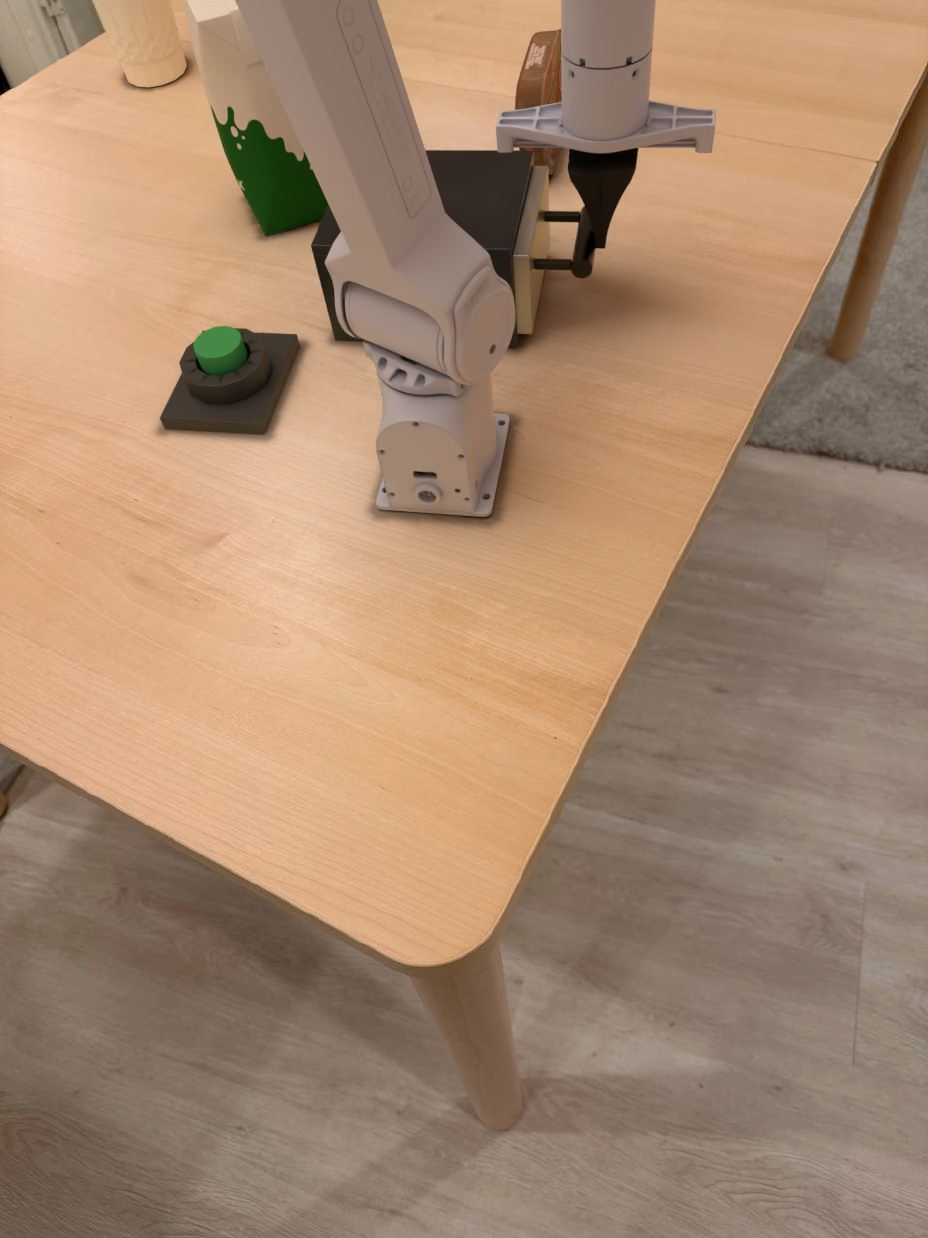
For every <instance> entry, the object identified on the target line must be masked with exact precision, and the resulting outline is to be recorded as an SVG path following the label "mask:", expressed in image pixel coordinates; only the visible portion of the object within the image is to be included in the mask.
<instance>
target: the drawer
mask: <svg viewBox="0 0 928 1238" xmlns="http://www.w3.org/2000/svg"><path fill="white" fill-rule="evenodd" d="M549 177H550V175H549V174H548V166H533V168H532V173H531V177H530V181H529V186H528V190H527V194H526V199H525V203H524V207H523V212H522V216H521V220H520V225H519V229H518V230H517V234H516V238H515V243H514V247H513V251H512V259H513V277H514V294H515V312H516V329H517V334H519V335H532V334H533V331H534V327H535V322H536V317H537V312H538V307H539V302H540V297H541V291H542V286H543V280H544V275H545V272H546V271H570V272H571V274H572V275H573V276H574V277H575V278H577V279H586V278H588V277H590V276H591V275H592V273H593V269H594V263H595V256H596V250H597V248H596V246H595V238H594V233H593V229H592V225H591V222H590V219H589V216H588V213H587V210H586V208H585V205H583V206H582V208H581V210H580V211H579V210H578V211H576V210H550V185H549V183H550V182H549V181H550V180H549V179H550V178H549ZM550 223H578V224H577V229H576V235H575V240H574V247H573V251H572V257H571V258H548V255H549V251H550V245H551V235H550V233H551V232H550V231H551V230H550Z"/></svg>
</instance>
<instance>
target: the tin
mask: <svg viewBox="0 0 928 1238" xmlns="http://www.w3.org/2000/svg"><path fill="white" fill-rule="evenodd" d="M515 89H516V90H515V98H514V100H515V101H514V110H521V109H527V108H532V107H538V106H543V105H548V104H553V103H559V102H562V85H561V28H558V29H557V30H545V31H544V30H543V31H542V30H541V31H536V32H535V33H533V35H532V36H531V38H530V41H529V44H528V47H527V50H526V53H525V56H524V60H523V63H522V66H521V69H520V73H519V76H518V80H517V83H516V88H515ZM518 150H533V152H534V166H548V175H549V176H552V175H553V174H554V172H555V170H556V167H557V164H558V159H559V154H560V152H561V148H518Z"/></svg>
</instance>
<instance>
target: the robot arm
mask: <svg viewBox="0 0 928 1238" xmlns="http://www.w3.org/2000/svg"><path fill="white" fill-rule="evenodd" d="M656 1H657V0H560V29H561V85H562V102H559V103H553V104H548V105H543V106H538V107H532V108H527V109H521V110H515V109H511V110H500V111H499V113H498V116H497V120H496V124H495V132H496V133H495V135H496V137H495V138H496V147H497V148H496V150H497V152H498V153H511V152H513V150H515V148H516V149H519V148H560V149H561V148H564V149H568V152H569V153H568V163H567V173H568V177H569V180H570V182H571V184H572V185H573V186H574V188H575V190H576V191H577V193H578V195H579V197H580V199H581V201H582V203H583V206H585V208H586V210H587V213H588V216H589V219H590V222H591V225H592V229H593V233H594V238H595V246H596V249H599V250H600V249H603V250H604V249H605V248H606V246H607V245H606V244H607V238H608V233H609V230H610V225H611V222H612V219H613V216H614V214H615V211H616V209H617V207H618V205H619V203H620V201H621V199H622V197H623V195H624V194H625V192H626V190H627V188H628V187H629V185H630V184H631V182H632V179H633V178H634V175H635V172H636V169H637V163H638V154H639V149H646V148H647V149H654V148H655V149H674V148H675V149H687V148H688V149H694V151H695V152H696V153H697V154H712V153H713V147H714V139H715V131H716V121H717V120H716V118H717V109H716V108H715V109H713V108H711V109H710V108H695V107H688V106H682V105H676V104H671V103H666V102H661V101H655V100H650V92H651V91H650V90H651V89H650V88H651V78H652V77H651V76H652V75H651V74H652V61H653V44H654V33H655V17H656V3H657V2H656ZM235 2H236V4H237V6H238V8H239V10H240V12H241V15H242V17H243V19H244V21H245V23H246V25H247V28H248V30H249V32H250V34H251V36H252V39H253V41H254V43H255V45H256V47H257V49H258V52H259V54H260V56H261V58H262V60H263V62H264V65H265V67H266V69H267V71H268V73H269V76H270V78H271V80H272V82H273V84H274V86H275V89H276V91H277V93H278V95H279V97H280V99H281V102H282V104H283V106H284V108H285V110H286V113H287V115H288V117H289V119H290V121H291V123H292V126H293V128H294V130H295V132H296V134H297V136H298V139H299V141H300V143H301V145H302V147H303V150H304V152H305V154H306V156H307V158H308V160H309V163H310V165H311V167H312V169H313V171H314V173H315V176H316V178H317V180H318V182H319V184H320V186H321V189H322V191H323V193H324V195H325V197H326V200H327V202H328V204H329V206H330V208H331V210H332V213H333V215H334V217H335V219H336V221H337V223H338V226H339V228H340V230H341V232H340V234H339V235H338V236H337V238H336V239H335V241H334V243H333V245H332V247H331V249H330V251H329V254H328V256H327V258H326V260H325V265H326V267H327V269H328V271H329V273H330V276H331V278H332V281H333V286H334V294H335V309H336V315H337V318H338V321H339V323H340V325H341V327H342V328H343V329H344V331H345V332H346V333H348V334H349V335H350V336H352V337H355V338H358V339H363V342H362V346H363V350H364V354H365V357H366V358H368V359H369V360H371V361H372V362H373V364H374V366H375V371H376V375H377V380H378V384H379V389H380V393H381V402H382V406H381V407H382V410H381V417H380V423H379V427H378V431H377V433H376V438H375V451H376V456H377V460H378V463H379V469H380V472H381V476H382V479H381V482H380V485H379V488H378V492H377V495H376V499H375V505H376V508H377V509H378V510H380V511H381V510H383V511H395V512H407V513H408V512H409V513H424V514H437V515H449V516H450V515H451V516H466V517H481V518H486V517H489V516H490V515H491V514H492V512H493V506H494V503H495V497H496V492H497V487H498V484H499V483H498V482H499V478H500V477H499V476H500V472H501V467H502V463H503V457H504V452H505V448H506V443H507V437H508V433H509V429H510V423H511V419H510V416H509V414H507V413H500V412H495V406H494V395H493V393H494V392H493V385H492V383H493V382H492V372H493V371H494V370H495V369H496V368H497V367H498V366H499V364H500V363H501V362H502V360H503V358H504V356H505V355H506V352H507V351H508V349H509V348H508V346H509V344H510V341H511V338H512V334H513V330H514V325H515V304H514V297H513V293H512V290H511V288H510V286H509V284H508V283H507V282H506V281H505V280H503V279H502V278H500V277H499V276H498V275H497V274H496V272H495V270H494V268H493V265H492V262H491V258H490V255H489V254H488V252H487V251H486V250H485V249H484V248H483V247H482V246H480V245H479V244H478V243H477V242H476V241H475V240H474V239H473V238H472V237H471V236H470V235H469V234H467V233H466V232H465V231H464V230H463V229H462V228H461V227H460V226H458V225H457V224H456V223H455V222H454V221H453V220H452V219H451V218H450V217H449V216H448V215H447V214H446V213H445V211H444V208H443V204H442V201H441V198H440V195H439V192H438V189H437V186H436V182H435V179H434V176H433V173H432V170H431V167H430V164H429V161H428V157H427V154H426V151H425V150H426V149H425V144H424V142H423V139H422V136H421V132H420V129H419V127H418V123H417V119H416V117H415V114H414V111H413V107H412V105H411V102H410V98H409V94H408V91H407V89H406V86H405V83H404V79H403V76H402V73H401V70H400V67H399V64H398V61H397V57H396V55H395V51H394V48H393V45H392V42H391V38H390V35H389V32H388V29H387V26H386V23H385V20H384V17H383V14H382V13H383V12H382V10H381V6H380V5H379V1H378V0H235Z"/></svg>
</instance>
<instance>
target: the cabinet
mask: <svg viewBox="0 0 928 1238" xmlns="http://www.w3.org/2000/svg"><path fill="white" fill-rule="evenodd" d="M425 151H426V154H427V157H428V161H429V164H430V167H431V170H432V173H433V176H434V179H435V182H436V186H437V189H438V192H439V195H440V198H441V201H442V204H443V208H444V211H445V213H446V214H447V215H448V216H449V217H450V218H451V219H452V220H453V221H454V222H455V223H456V224H457V225H458V226H460V227H461V228H462V229H463V230H464V231H465V232H466V233H467V234H469V235H470V236H471V237H472V238H473V239H474V240H475V241H476V242H477V243H478V244H479V245H480V246H482V247H483V248H484V249H485V250H486V251H487V252H488V254H489V255H490V258H491V262H492V265H493V268H494V270H495V272H496V274H497V275H498V276H499V277H500V278H502V279H503V280H505V281H506V282H507V283H508V284H509V286H510V288H511V290H512V293H513V297H514V304H515V294H514V277H513V259H512V251H513V247H514V243H515V238H516V234H517V230H518V229H519V225H520V220H521V216H522V212H523V207H524V203H525V199H526V194H527V190H528V186H529V181H530V177H531V173H532V168H533V166H534V152H533V150H519V149H518V150H517V149H516V150H515V149H514V150H513V152H511V153H498V152H497V149H496V150H494V149H493V150H491V149H483V150H482V149H481V150H480V149H473V150H472V149H425ZM340 232H341V230H340V228H339V226H338V223H337V221H336V219H335V217H334V215H333V213H332V210H331V208H330V206H329V204H328V206H327V209H326V211H325V213H324V216H323V218H322V220H320V223H319V225H318V227H317V230H316V233H315V234H314V237H313V239H312V241H311V244H310V248H311V252H312V256H313V260H314V264H315V267H316V271H317V275H318V279H319V283H320V287H321V291H322V295H323V299H324V303H325V307H326V310H327V314H328V318H329V322H330V326H331V330H332V334H333V339H334V341H335V342H354V343H355V342H357V343H363V339H358V338H355V337H352V336H350V335H349V334H348V333H346V332H345V331H344V329H343V328H342V327H341V325H340V323H339V321H338V318H337V315H336V309H335V294H334V286H333V281H332V278H331V276H330V273H329V271H328V269H327V267H326V265H325V260H326V258H327V256H328V254H329V251H330V249H331V247H332V245H333V243H334V241H335V239H336V238H337V236H338V235H339V234H340ZM519 336H520V334H517V329H516V312H515V325H514V330H513V334H512V338H511V341H510V344H509V346H508V348H507V349H516V348H517V346H518V340H519Z"/></svg>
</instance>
